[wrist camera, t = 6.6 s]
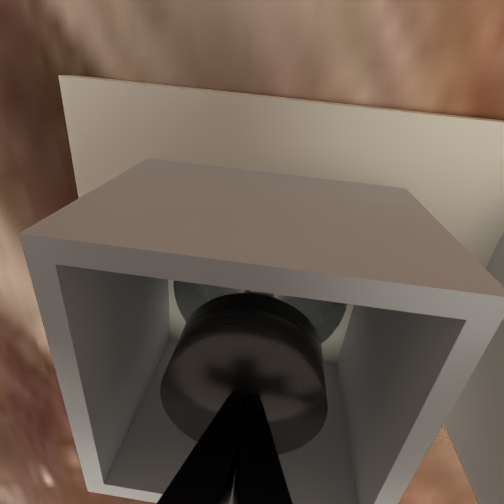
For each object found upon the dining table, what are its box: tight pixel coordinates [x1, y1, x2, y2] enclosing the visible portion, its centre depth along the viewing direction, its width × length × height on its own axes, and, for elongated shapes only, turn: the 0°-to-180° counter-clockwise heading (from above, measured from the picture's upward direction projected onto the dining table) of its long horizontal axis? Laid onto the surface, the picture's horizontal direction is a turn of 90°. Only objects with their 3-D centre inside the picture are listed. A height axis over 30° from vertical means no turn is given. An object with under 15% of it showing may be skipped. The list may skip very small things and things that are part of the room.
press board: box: [19, 75, 504, 504], centre depth 11 cm, size 28×14×8 cm, turn 85°
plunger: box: [160, 280, 347, 455], centre depth 11 cm, size 7×7×6 cm
